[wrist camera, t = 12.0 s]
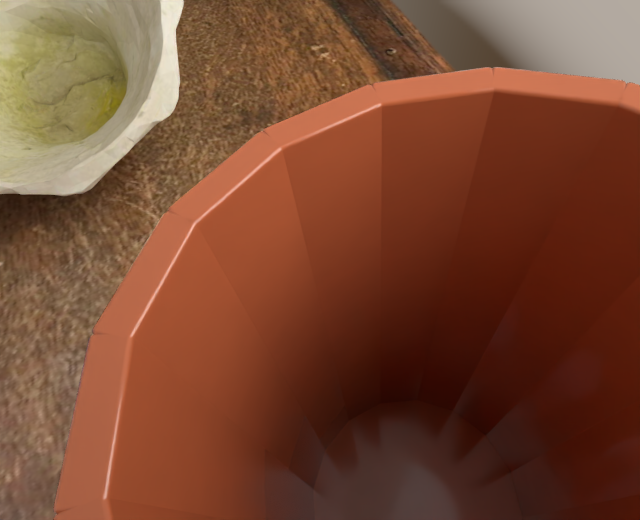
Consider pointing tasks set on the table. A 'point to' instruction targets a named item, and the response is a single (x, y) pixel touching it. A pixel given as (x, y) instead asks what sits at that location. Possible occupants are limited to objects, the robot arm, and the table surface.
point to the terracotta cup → (384, 318)
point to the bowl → (81, 87)
